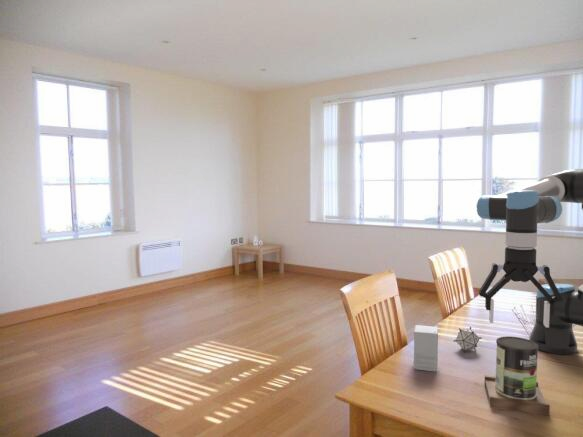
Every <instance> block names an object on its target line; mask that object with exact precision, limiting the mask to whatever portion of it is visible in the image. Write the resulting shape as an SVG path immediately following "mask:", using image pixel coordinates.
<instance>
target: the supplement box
mask: <svg viewBox="0 0 583 437" xmlns="http://www.w3.org/2000/svg"><path fill="white" fill-rule="evenodd" d="M438 330H439V329H438V326H429V325H421V324H420V325H419V324H415V326H414V331H413V368H414V370H419V371H420V370H421V371H428V372H438V360H439V359H438V357H439V356H438V353H439V352H438V351H439V349H438V348H439V347H438V346H439V331H438Z"/></svg>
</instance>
